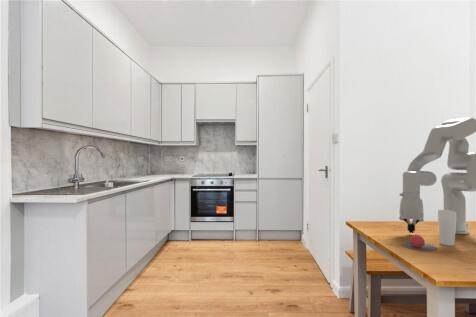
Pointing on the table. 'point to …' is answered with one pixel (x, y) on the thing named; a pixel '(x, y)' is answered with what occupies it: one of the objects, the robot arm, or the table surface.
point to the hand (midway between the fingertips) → (411, 232)
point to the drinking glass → (447, 227)
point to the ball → (417, 241)
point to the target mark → (426, 247)
